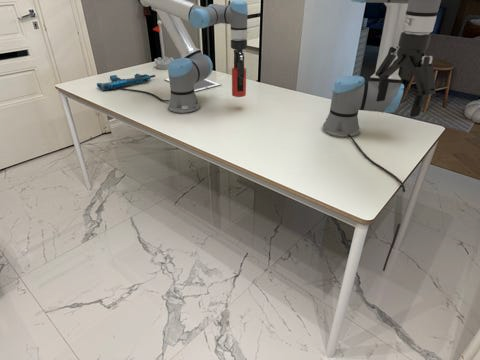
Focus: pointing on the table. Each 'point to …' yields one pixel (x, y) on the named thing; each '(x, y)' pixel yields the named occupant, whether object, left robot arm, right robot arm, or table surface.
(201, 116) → the table surface
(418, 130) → the table surface
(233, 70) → the canister
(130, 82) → the submachine gun
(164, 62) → the flag stand
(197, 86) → the tablet
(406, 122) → the table surface
